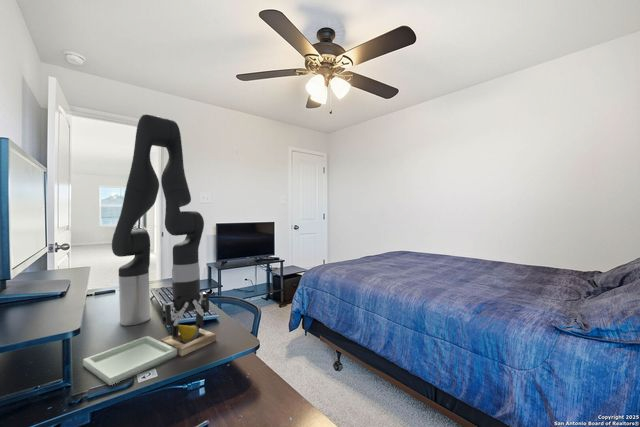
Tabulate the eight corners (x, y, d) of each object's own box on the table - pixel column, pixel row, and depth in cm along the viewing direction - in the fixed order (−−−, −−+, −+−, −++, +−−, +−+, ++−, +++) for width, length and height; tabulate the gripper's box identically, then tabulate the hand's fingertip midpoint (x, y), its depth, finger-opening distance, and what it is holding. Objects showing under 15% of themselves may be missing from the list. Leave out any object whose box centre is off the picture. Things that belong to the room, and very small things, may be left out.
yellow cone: (203, 343, 87) (179, 330, 81) (189, 349, 88) (164, 336, 82) (207, 327, 91) (184, 313, 85) (193, 333, 92) (169, 319, 87)
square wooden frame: (160, 346, 85) (160, 339, 85) (194, 332, 94) (194, 326, 94) (182, 356, 79) (181, 349, 79) (215, 340, 88) (215, 333, 88)
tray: (83, 366, 75) (83, 359, 75) (147, 341, 88) (147, 335, 88) (110, 386, 66) (110, 378, 66) (177, 355, 80) (177, 349, 80)
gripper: (200, 271, 94) (201, 321, 95) (155, 281, 82) (156, 338, 83) (214, 274, 90) (215, 326, 90) (169, 285, 78) (170, 345, 78)
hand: (187, 332), depth 86 cm, fingers closed on yellow cone, 7 cm apart
